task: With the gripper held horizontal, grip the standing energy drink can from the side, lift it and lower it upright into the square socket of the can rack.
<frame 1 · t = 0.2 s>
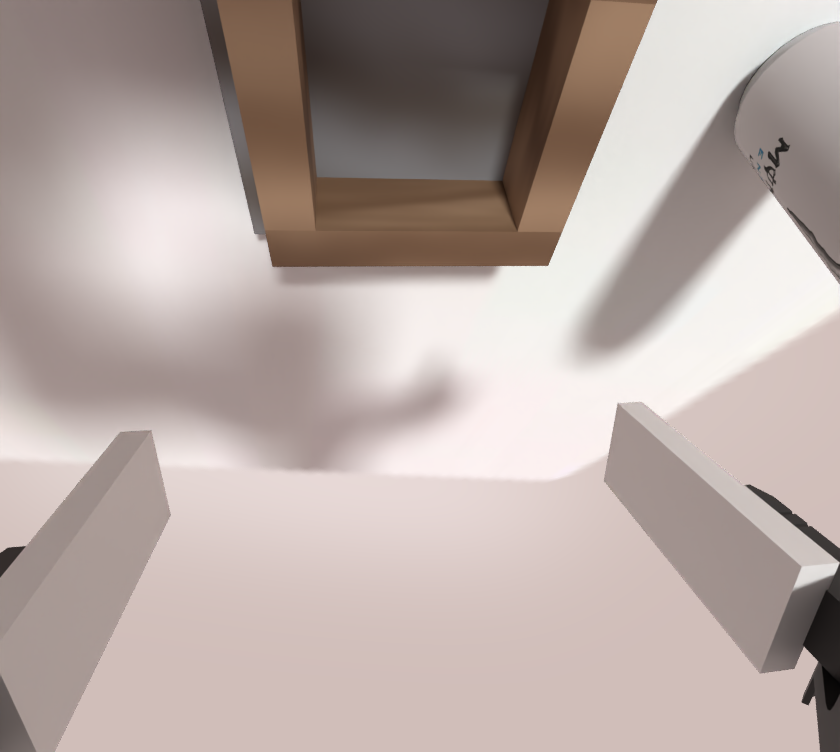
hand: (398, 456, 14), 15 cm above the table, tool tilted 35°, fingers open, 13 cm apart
energy drink can: (796, 82, 22), on the table
can rack: (417, 67, 20), on the table
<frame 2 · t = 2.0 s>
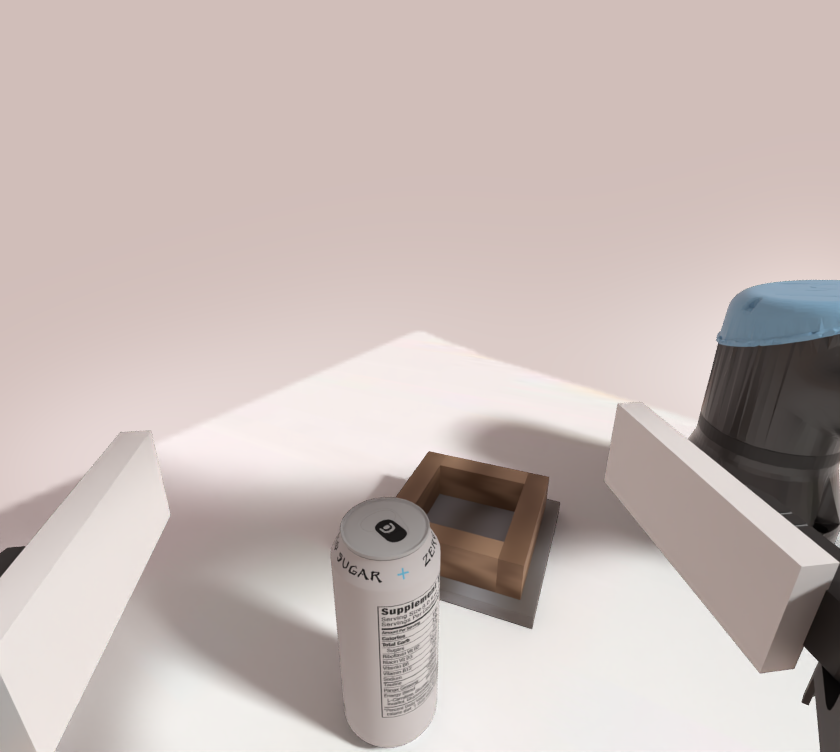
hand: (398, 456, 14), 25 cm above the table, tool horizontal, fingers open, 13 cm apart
energy drink can: (390, 709, 33), on the table
can rack: (466, 540, 48), on the table
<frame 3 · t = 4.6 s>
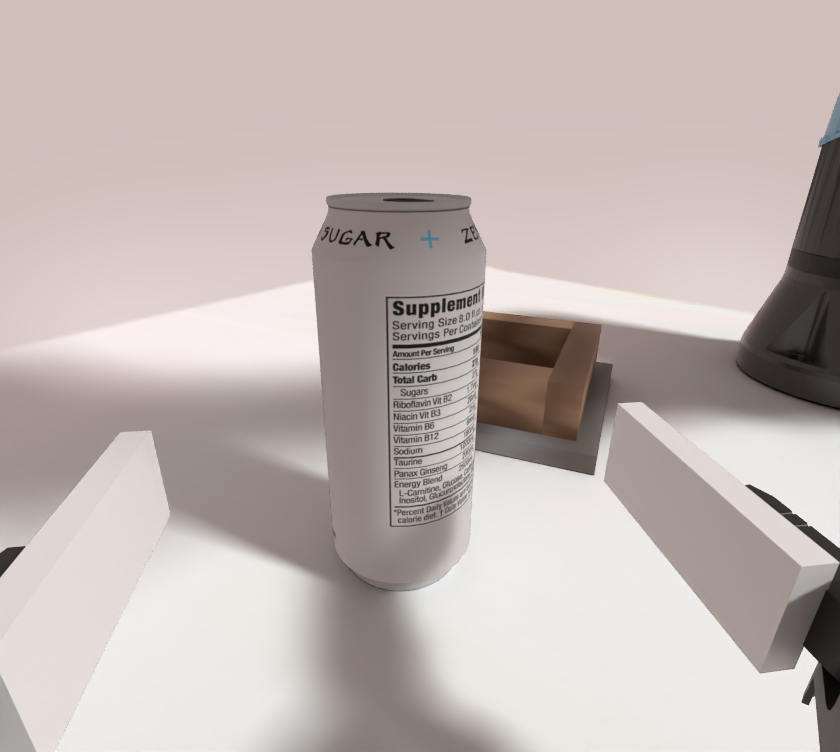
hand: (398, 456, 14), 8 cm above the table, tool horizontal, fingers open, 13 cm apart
energy drink can: (401, 552, 23), on the table
can rack: (496, 398, 37), on the table
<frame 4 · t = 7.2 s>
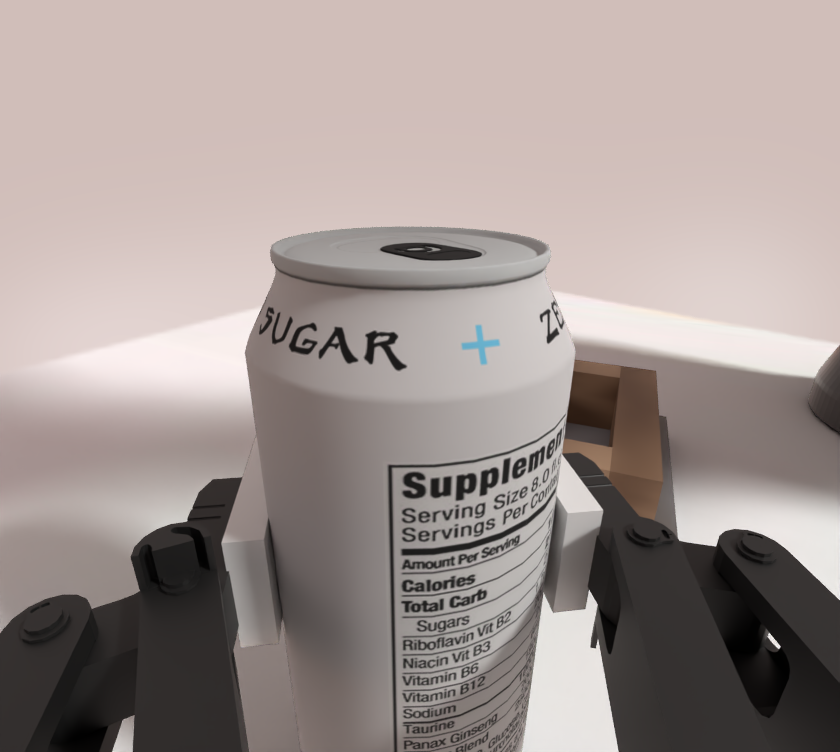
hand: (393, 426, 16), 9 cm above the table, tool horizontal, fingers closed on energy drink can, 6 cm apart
can rack: (526, 467, 29), on the table
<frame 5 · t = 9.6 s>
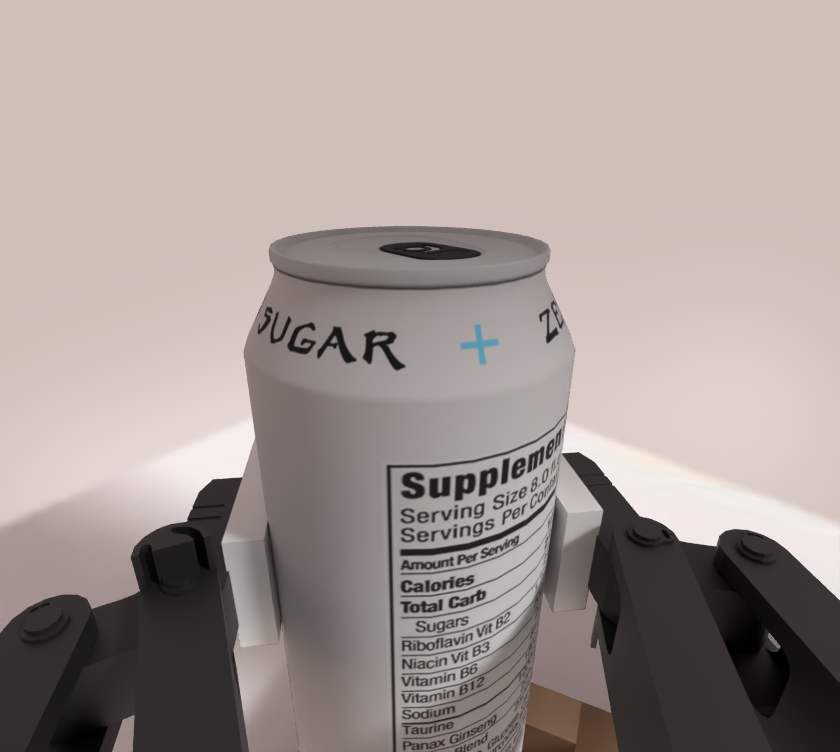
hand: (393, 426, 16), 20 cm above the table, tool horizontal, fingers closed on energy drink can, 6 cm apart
when the fingers open (12 cm above the table, at t = 12.1 s): energy drink can drops 2 cm, resting on can rack.
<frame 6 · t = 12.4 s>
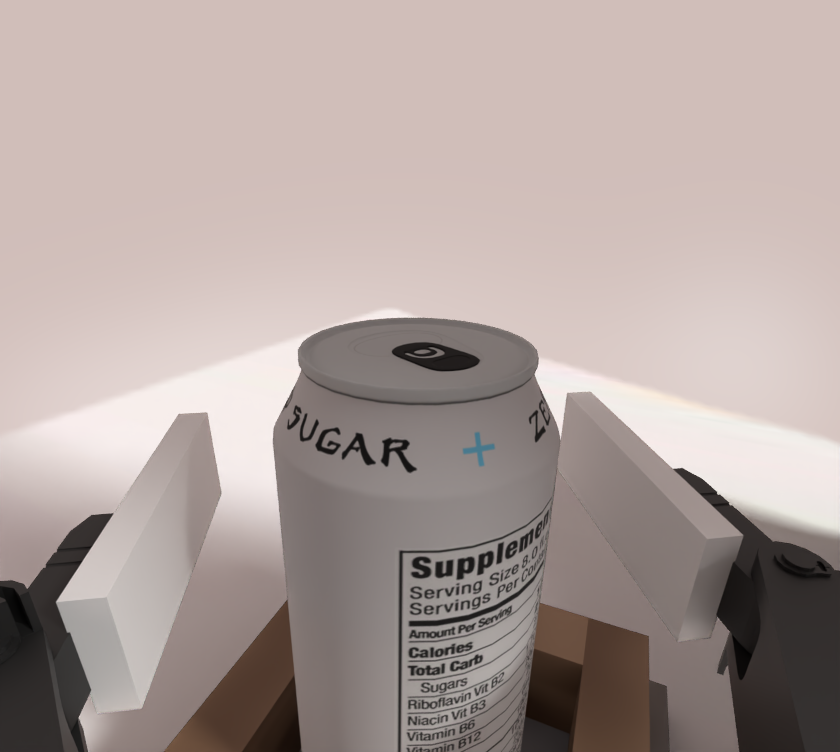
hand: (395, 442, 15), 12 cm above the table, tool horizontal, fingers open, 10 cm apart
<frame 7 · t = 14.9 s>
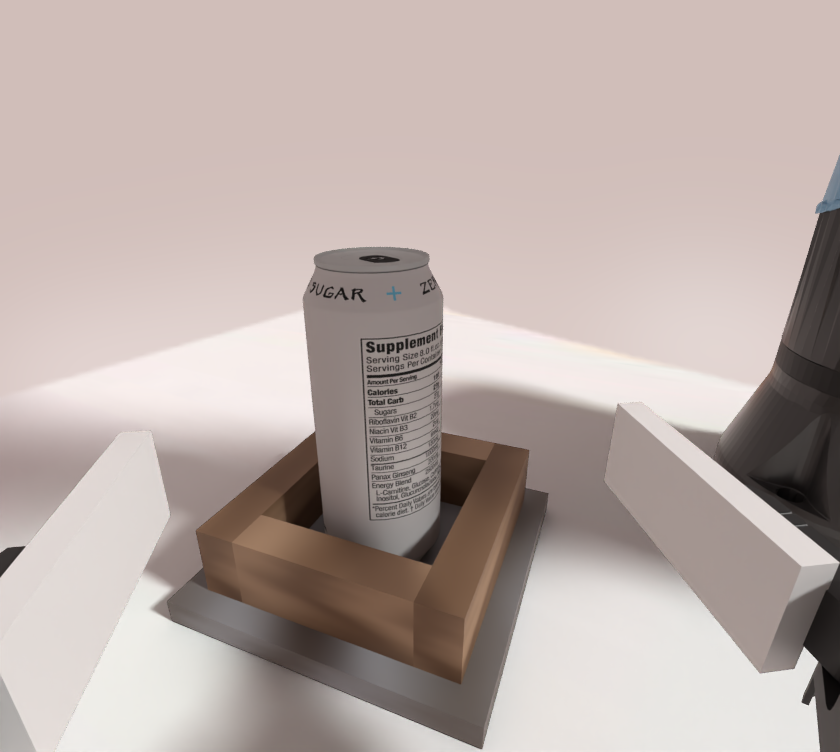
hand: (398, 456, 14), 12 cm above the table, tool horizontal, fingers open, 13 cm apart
energy drink can: (383, 543, 27), point 1 cm above the table, touching can rack
can rack: (385, 557, 28), on the table
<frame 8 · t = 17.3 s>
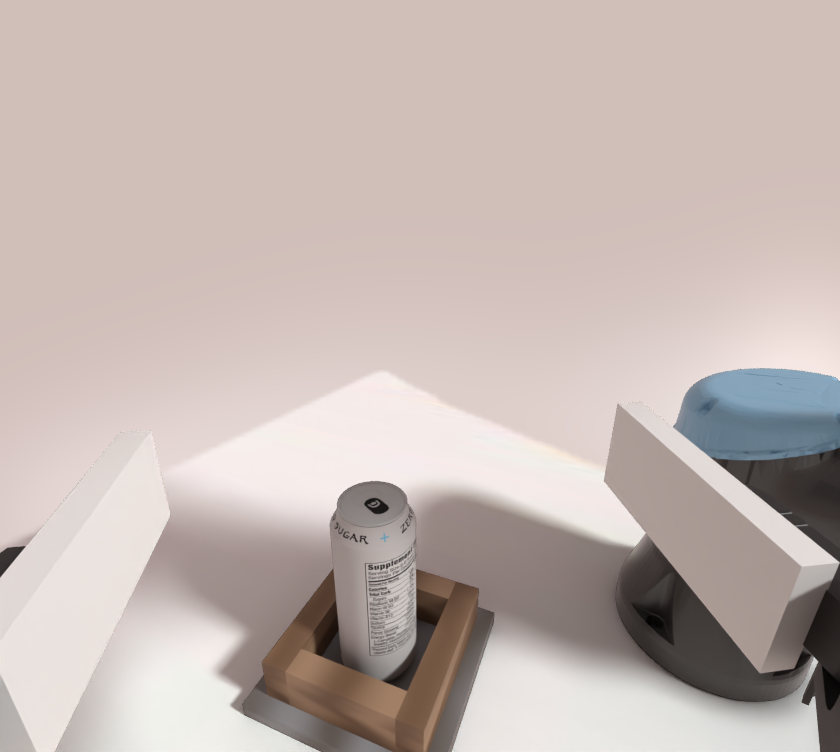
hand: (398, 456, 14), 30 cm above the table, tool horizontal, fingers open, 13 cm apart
energy drink can: (379, 656, 41), point 1 cm above the table, touching can rack
can rack: (380, 664, 41), on the table
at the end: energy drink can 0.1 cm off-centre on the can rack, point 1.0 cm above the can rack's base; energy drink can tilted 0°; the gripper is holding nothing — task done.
